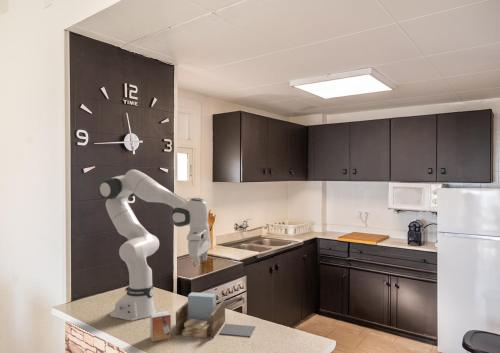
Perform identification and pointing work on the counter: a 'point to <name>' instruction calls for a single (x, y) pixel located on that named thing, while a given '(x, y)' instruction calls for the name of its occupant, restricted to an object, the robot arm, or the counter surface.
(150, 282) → the robot arm
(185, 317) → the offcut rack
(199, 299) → the pale blue upright block
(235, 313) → the counter surface
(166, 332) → the small box
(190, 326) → the offcut stack
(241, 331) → the rubber mat
